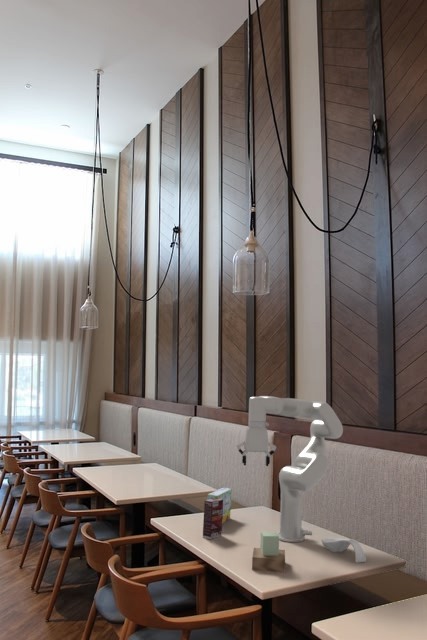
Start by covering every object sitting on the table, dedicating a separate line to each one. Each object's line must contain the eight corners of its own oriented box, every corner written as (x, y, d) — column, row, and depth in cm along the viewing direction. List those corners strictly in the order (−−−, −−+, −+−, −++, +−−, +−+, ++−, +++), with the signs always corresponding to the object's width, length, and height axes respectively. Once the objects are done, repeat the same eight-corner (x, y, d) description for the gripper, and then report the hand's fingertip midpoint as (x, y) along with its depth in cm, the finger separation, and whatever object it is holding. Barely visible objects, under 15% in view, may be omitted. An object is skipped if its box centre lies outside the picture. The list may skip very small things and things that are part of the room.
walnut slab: (284, 563, 216) (284, 549, 217) (284, 573, 204) (285, 559, 205) (253, 560, 217) (253, 547, 218) (252, 571, 206) (252, 557, 206)
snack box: (216, 528, 262) (217, 495, 264) (205, 526, 264) (206, 494, 266) (231, 518, 282) (232, 488, 283) (220, 517, 284) (221, 486, 285)
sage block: (275, 550, 215) (276, 532, 216) (278, 555, 209) (279, 536, 210) (260, 550, 214) (260, 531, 215) (262, 555, 208) (263, 536, 209)
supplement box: (210, 539, 243) (212, 502, 245) (202, 537, 246) (203, 500, 248) (222, 535, 250) (223, 499, 252) (214, 533, 253) (215, 497, 255)
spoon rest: (315, 547, 238) (316, 529, 239) (338, 545, 243) (339, 528, 244) (349, 564, 217) (349, 545, 218) (374, 562, 221) (374, 543, 222)
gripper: (275, 425, 246) (274, 464, 244) (236, 423, 246) (235, 463, 244) (278, 426, 239) (277, 467, 237) (237, 425, 238) (236, 466, 236)
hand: (255, 465), depth 240 cm, fingers open, 9 cm apart
